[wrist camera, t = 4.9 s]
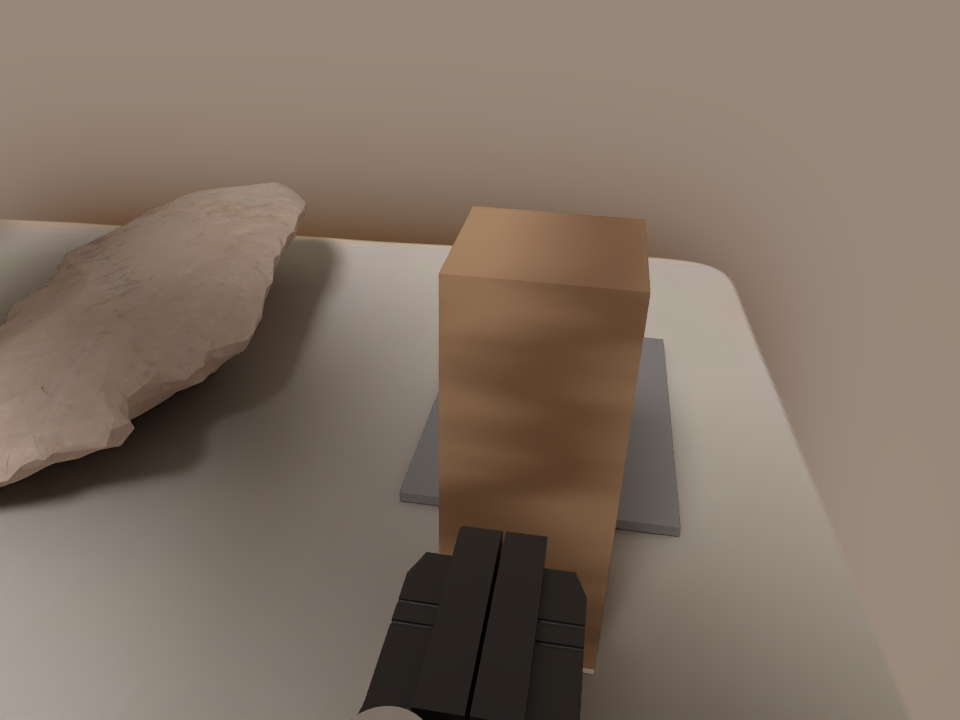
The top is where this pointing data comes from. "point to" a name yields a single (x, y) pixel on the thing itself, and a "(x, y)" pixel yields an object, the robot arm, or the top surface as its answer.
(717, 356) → the top surface
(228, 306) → the stone
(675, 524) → the mat
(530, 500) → the block
